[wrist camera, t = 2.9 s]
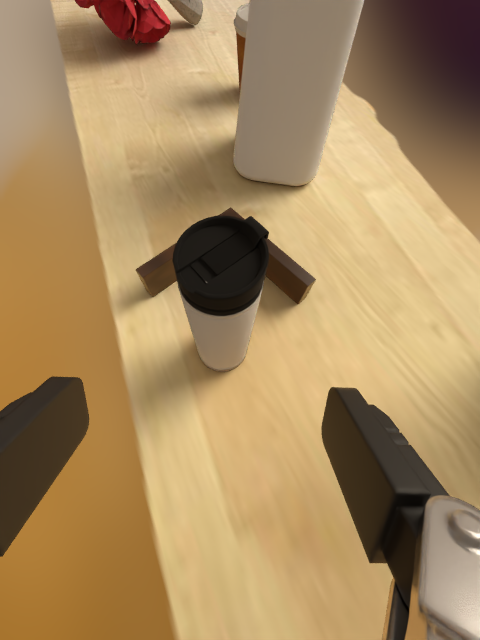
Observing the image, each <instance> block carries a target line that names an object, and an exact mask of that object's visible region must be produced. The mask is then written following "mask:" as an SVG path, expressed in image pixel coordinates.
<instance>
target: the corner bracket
mask: <svg viewBox="0 0 480 640" xmlns="http://www.w3.org/2000/svg"><path fill="white" fill-rule="evenodd" d="M218 216H234V217H237V218H241V219H243V220H245V219H244V218H243V217H241V216H240V215H239V214H238V213H237V212H235V211H234V210H233V209H232V208H229V209H228V210H226V211H225V212H223V213H222V214H220V215H218ZM265 240H266V242H267V245H268V249H269V261H268V267H267V271H266V276H267V277H268V278H269V279H270V280H271V281H272V282H274V283H275V284H276V285H277V286H278V287H279V288H280V289H281V290H283V291H284V292H285V293H286V294H287V295H288V296H289V297H290V298H291V299H293V300H294V301H295V302H296V303H297V304H299V303H300V302H301V301H303V300H304V299H305V298H306V296H307V294H308V292H309V291H310V289H311V287H312V285H313V284H314V282H315V280H316V279H315V278H314V277H313V276H311V275H310V274H309V273H308V272H307V271H305V270H304V269H303V268H302V267H301V266H299V265H298V264H297V263H296V262H295V261H294V260H292V259H291V258H290V257H289V256H288V255H286V254H285V253H284V252H283V251H282V250H280V249H279V248H278V247H277V246H276V245H275V244H273V243H272V242H271V241H270V240H269V239H265ZM175 245H176V244H174V245H172V246H171V247H169V248H168V249H166V250H165V251H163V252H162V253H160V254H159V255H157V256H156V257H154V258H153V259H151V260H150V261H148V262H146V263H145V264H143V265H142V266H140V267H139V268H137V269H136V272H137V274H138V275H139V277H140V279H141V281H142V283H143V285H144V287H145V289H146V290H147V291H148V293H149V294H150V295H151V296H152V297H154V296H155V295H157V294H158V293H160V292H161V291H162V290H164V289H165V288H167V287H168V286H170V285H171V284H172V283H174V282H175V281H177V279H176V274H175V269H174V265H173V261H172V260H173V252H174V248H175Z"/></svg>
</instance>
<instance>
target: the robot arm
mask: <svg viewBox="0 0 480 640" xmlns="http://www.w3.org/2000/svg"><path fill="white" fill-rule="evenodd" d="M88 425H89V414H88V408H87V403H86V398H85V392H84V387H83V382H82V380H81V379H80V378H76V377H51V378H49V379H48V380H46V381H45V382H44V383H43V384H42V385H41V386H39V387H38V388H37V389H36V390H35V391H34V392H32V393H29V394H27V395H25V396H23V397H21V398H19V399H17V400H15V401H14V402H12V403H10V404H9V405H7V406H6V407H5V408H4V409H3V410H1V411H0V556H3V555H4V553H5V552H6V551H7V549H8V548H9V546H10V545H11V543H12V541H13V540H14V539H15V537H16V536H17V534H18V533H19V531H20V530H21V529H22V527H23V525H24V524H25V523H26V521H27V520H28V518H29V517H30V515H31V514H32V512H33V511H34V510H35V508H36V507H37V505H38V504H39V502H40V501H41V499H42V498H43V496H44V495H45V493H46V492H47V491H48V489H49V488H50V486H51V485H52V483H53V482H54V480H55V479H56V477H57V476H58V474H59V473H60V472H61V470H62V469H63V467H64V466H65V464H66V463H67V461H68V460H69V458H70V457H71V455H72V454H73V452H74V451H75V450H76V448H77V447H78V445H79V444H80V442H81V441H82V439H83V438H84V436H85V434H86V432H87V429H88ZM322 439H323V444H324V447H325V449H326V452H327V454H328V457H329V459H330V462H331V465H332V467H333V470H334V472H335V475H336V477H337V480H338V483H339V485H340V488H341V490H342V493H343V495H344V498H345V501H346V503H347V506H348V508H349V511H350V513H351V516H352V519H353V521H354V524H355V526H356V529H357V531H358V534H359V537H360V539H361V542H362V544H363V547H364V549H365V552H366V555H367V557H368V560H369V562H370V563H387V564H388V566H389V568H390V570H391V573H392V575H393V579H392V581H391V585H390V591H389V597H388V604H387V610H386V617H385V623H384V629H383V636H382V640H480V510H478V509H477V508H475V507H474V506H472V505H470V504H468V503H467V502H464V501H462V500H460V499H457V498H454V497H450V496H449V494H448V493H447V492H446V490H445V489H444V488H443V487H442V485H441V484H440V483H439V481H438V480H437V479H436V477H435V476H434V475H433V473H432V472H431V471H430V470H429V468H428V467H427V466H426V464H425V463H424V462H423V460H422V459H421V458H420V457H419V455H418V454H417V453H416V451H415V450H414V449H413V447H412V446H411V445H409V444H408V441H407V440H406V438H405V437H404V436H403V434H402V433H399V429H398V428H397V427H396V425H395V424H394V423H393V421H392V420H391V419H390V418H389V416H387V415H386V414H385V413H384V412H382V411H381V410H380V409H378V408H377V407H376V406H374V405H368V404H367V402H366V401H365V399H364V398H363V397H362V395H361V394H360V392H359V391H358V390H357V389H356V388H338V387H332V388H331V389H330V390H329V393H328V398H327V402H326V407H325V412H324V417H323V422H322Z"/></svg>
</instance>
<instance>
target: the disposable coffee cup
mask: <svg viewBox="0 0 480 640" xmlns="http://www.w3.org/2000/svg"><path fill="white" fill-rule="evenodd" d="M248 12H249V4H245V5H242V6H240V7H239V8H238V10H237V13H236V18H235V19H234V25H235V29H236V35H237V53H238V70H239V87H240V90H241V80H242V70H243V61H244V51H245V41H246V32H247V22H248Z"/></svg>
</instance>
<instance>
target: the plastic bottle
mask: <svg viewBox="0 0 480 640" xmlns="http://www.w3.org/2000/svg"><path fill="white" fill-rule="evenodd" d="M363 2H364V0H250V2H249V12H248V22H247V32H246V41H245V51H244V61H243V70H242V80H241V90H240V100H239V109H238V119H237V129H236V138H235V148H234V158H233V161H234V166H235V168H236V170H237V171H238V172H239V173H240V174H241V175H242V176H243V177H245V178H247V179H250V180H255V181H262V182H269V183H276V184H284V185H291V186H300V185H304V184H307V183H309V182H310V181H312V180H313V179H314V177H315V176H316V174H317V172H318V168H319V165H320V161H321V157H322V153H323V150H324V146H325V142H326V139H327V135H328V131H329V128H330V124H331V120H332V117H333V113H334V109H335V105H336V102H337V98H338V94H339V91H340V87H341V83H342V80H343V76H344V72H345V69H346V65H347V61H348V57H349V54H350V50H351V46H352V43H353V39H354V35H355V32H356V28H357V24H358V21H359V17H360V13H361V10H362V6H363Z"/></svg>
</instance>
